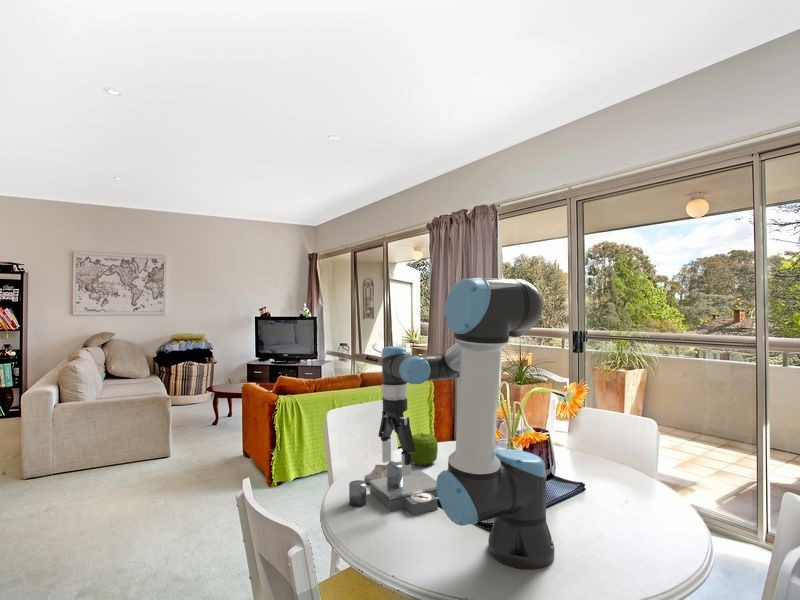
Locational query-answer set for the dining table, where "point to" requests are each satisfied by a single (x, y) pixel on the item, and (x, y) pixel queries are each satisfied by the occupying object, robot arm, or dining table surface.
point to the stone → (377, 473)
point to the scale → (408, 501)
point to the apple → (424, 449)
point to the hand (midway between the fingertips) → (396, 468)
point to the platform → (406, 485)
